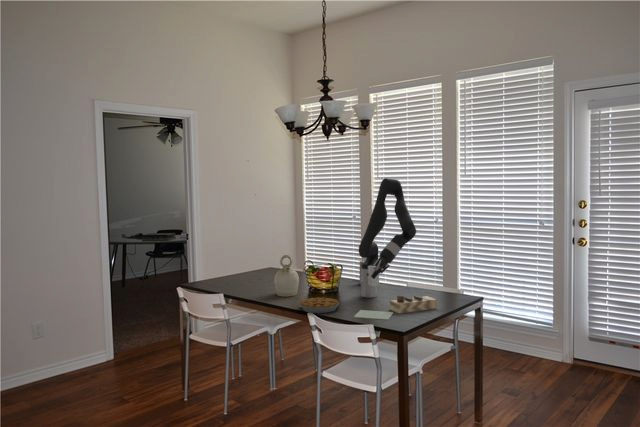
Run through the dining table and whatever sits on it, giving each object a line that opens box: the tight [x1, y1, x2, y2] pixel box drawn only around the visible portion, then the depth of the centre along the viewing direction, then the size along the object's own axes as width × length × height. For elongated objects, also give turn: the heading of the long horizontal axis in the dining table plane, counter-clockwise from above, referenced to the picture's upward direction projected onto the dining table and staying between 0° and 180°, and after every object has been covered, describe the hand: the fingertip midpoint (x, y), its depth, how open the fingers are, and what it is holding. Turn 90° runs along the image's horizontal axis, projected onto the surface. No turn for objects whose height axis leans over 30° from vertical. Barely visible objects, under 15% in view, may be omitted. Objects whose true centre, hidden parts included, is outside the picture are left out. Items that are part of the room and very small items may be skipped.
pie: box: [299, 296, 340, 314], centre depth 281 cm, size 22×22×5 cm
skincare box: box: [359, 260, 365, 285], centre depth 344 cm, size 8×7×16 cm
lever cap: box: [368, 265, 380, 287], centre depth 264 cm, size 4×4×10 cm
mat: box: [353, 309, 394, 321], centre depth 265 cm, size 18×14×1 cm
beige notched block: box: [389, 294, 438, 314], centre depth 276 cm, size 24×9×8 cm, turn 112°
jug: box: [273, 254, 300, 298], centre depth 316 cm, size 15×16×25 cm
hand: (370, 276), depth 263 cm, fingers closed on lever cap, 4 cm apart
